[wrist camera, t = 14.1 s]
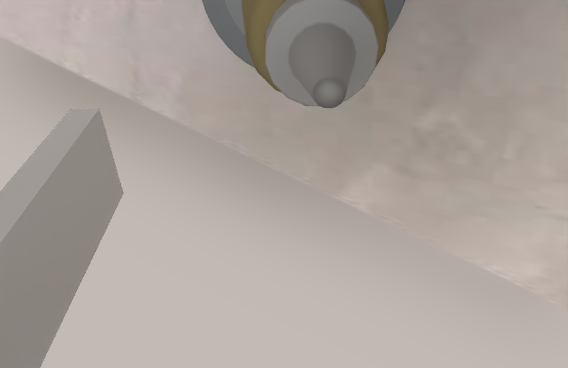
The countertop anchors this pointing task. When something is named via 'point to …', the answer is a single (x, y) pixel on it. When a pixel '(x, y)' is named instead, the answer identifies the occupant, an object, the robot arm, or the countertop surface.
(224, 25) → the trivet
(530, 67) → the countertop surface
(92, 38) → the countertop surface
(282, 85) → the squeeze bottle
